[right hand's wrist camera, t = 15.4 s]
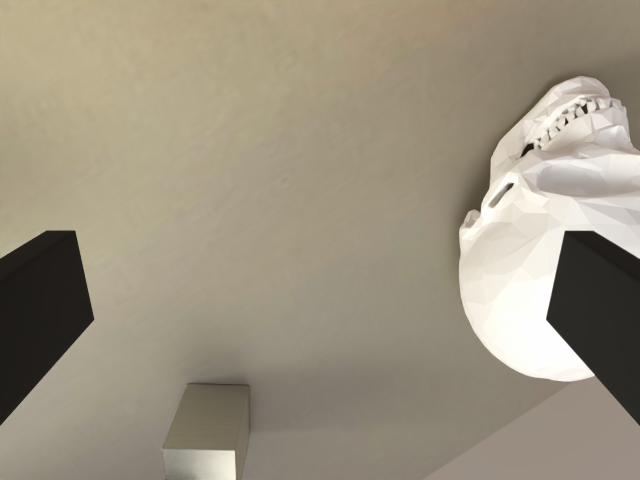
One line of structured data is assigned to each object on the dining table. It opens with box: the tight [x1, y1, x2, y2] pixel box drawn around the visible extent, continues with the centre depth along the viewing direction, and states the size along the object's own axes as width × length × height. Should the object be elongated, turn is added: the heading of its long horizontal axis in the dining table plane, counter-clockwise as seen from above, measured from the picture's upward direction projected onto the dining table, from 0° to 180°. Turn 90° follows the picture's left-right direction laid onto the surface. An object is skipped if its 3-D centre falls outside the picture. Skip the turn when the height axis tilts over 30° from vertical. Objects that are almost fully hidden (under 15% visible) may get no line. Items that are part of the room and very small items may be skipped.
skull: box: [459, 76, 640, 381], centre depth 32 cm, size 13×22×16 cm, turn 174°
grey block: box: [162, 384, 250, 480], centre depth 44 cm, size 6×7×8 cm
